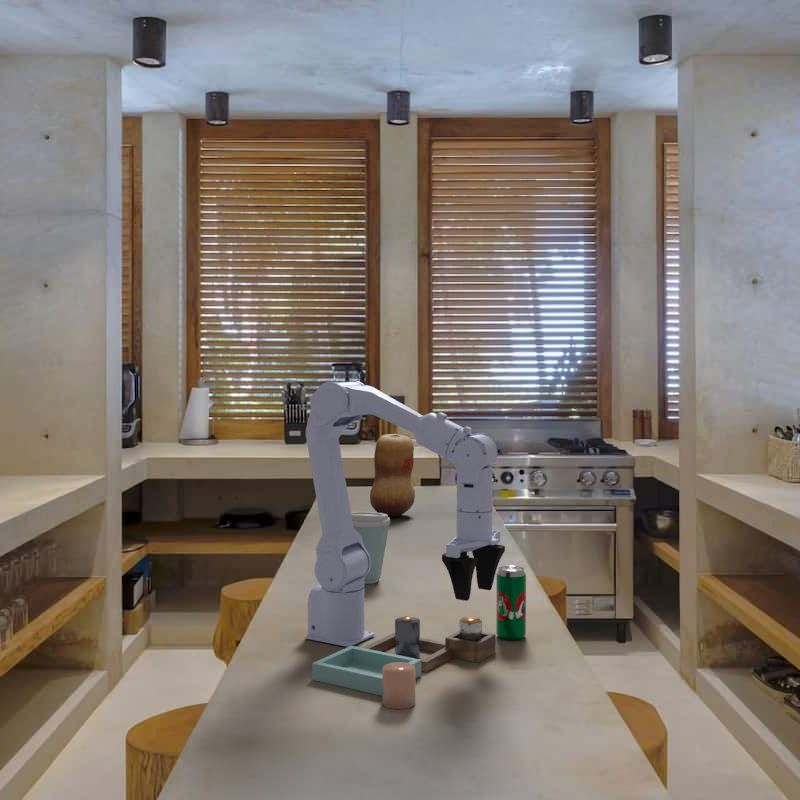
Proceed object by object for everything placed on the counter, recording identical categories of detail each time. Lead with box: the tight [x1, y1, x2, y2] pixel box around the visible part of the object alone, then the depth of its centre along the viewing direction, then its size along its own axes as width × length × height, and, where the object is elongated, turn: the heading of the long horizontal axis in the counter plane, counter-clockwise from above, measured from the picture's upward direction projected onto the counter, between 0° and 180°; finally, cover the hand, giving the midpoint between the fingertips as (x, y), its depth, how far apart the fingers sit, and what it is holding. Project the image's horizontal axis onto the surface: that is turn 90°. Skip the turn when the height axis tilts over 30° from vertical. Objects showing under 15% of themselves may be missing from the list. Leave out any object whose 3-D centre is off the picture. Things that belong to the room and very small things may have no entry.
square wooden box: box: [444, 630, 497, 664], centre depth 150 cm, size 6×6×3 cm
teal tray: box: [311, 645, 422, 697], centre depth 139 cm, size 13×10×2 cm
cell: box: [394, 615, 421, 659], centre depth 149 cm, size 4×4×6 cm
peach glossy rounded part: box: [382, 662, 416, 710], centre depth 129 cm, size 5×5×5 cm
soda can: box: [495, 565, 527, 642], centre depth 159 cm, size 5×5×12 cm
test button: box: [458, 616, 483, 640], centre depth 150 cm, size 4×4×3 cm
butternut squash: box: [369, 433, 416, 518], centre depth 280 cm, size 14×13×25 cm
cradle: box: [362, 632, 453, 673], centre depth 149 cm, size 12×10×2 cm
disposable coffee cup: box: [351, 511, 391, 585], centre depth 200 cm, size 11×11×15 cm
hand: (473, 594), depth 148 cm, fingers open, 7 cm apart
